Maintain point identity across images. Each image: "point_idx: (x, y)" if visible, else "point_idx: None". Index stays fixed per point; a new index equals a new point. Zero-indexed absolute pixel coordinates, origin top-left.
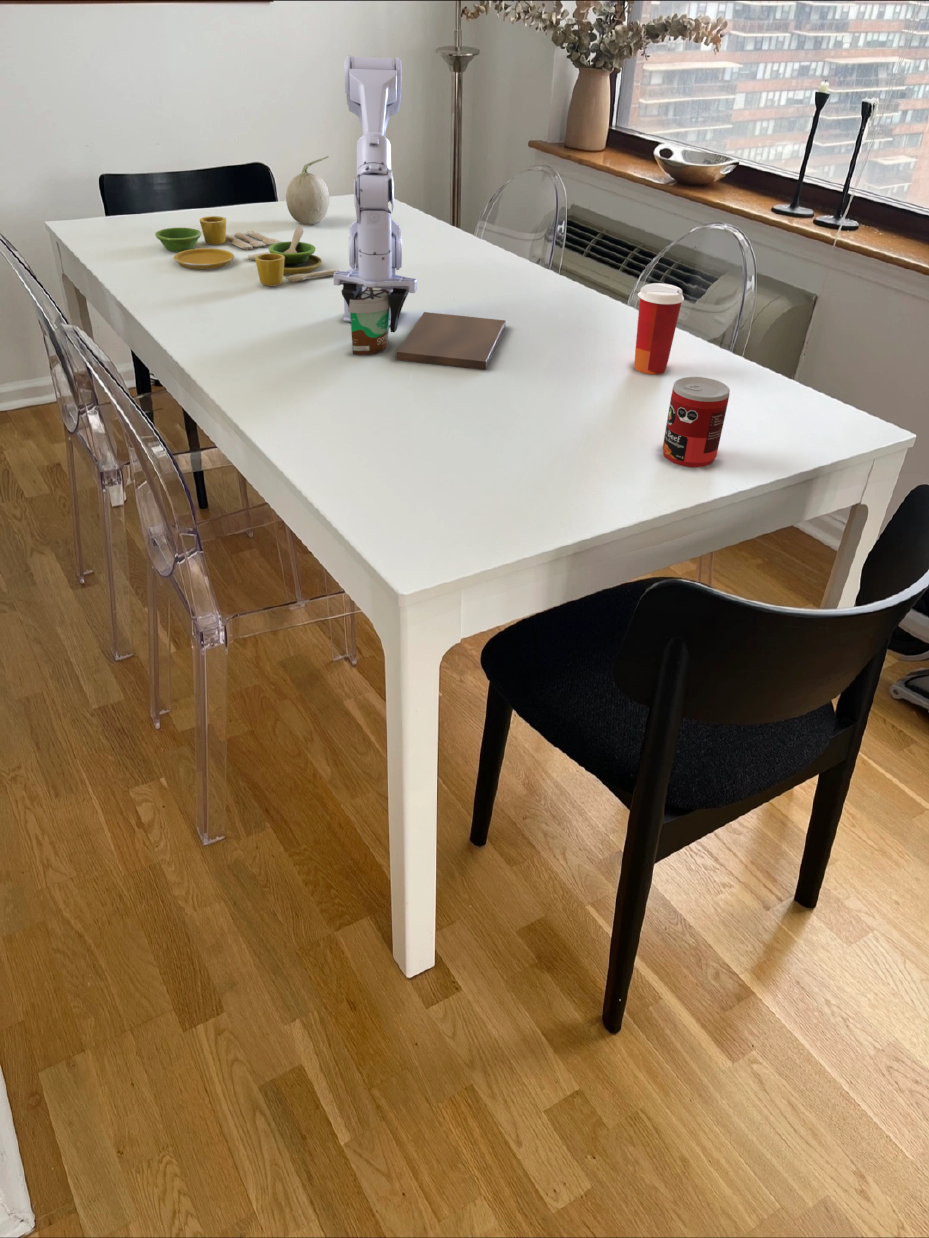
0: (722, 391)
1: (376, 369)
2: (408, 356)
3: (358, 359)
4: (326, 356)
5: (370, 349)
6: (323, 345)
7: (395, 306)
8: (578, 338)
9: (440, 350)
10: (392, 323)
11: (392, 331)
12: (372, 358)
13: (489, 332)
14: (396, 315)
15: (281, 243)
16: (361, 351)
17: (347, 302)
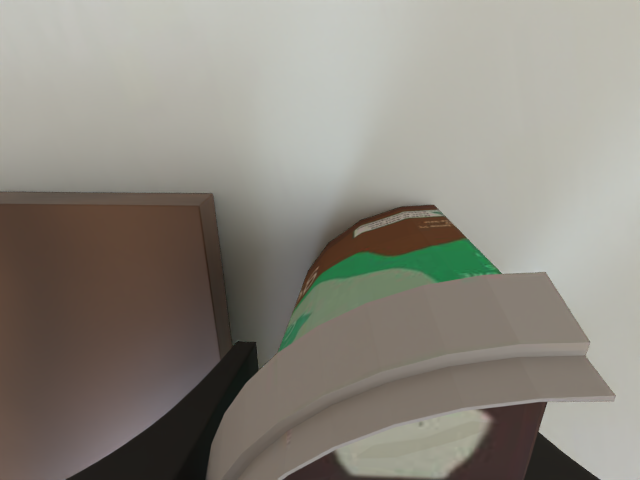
0: None
1: (264, 38)
2: (144, 199)
3: (392, 152)
4: (568, 145)
5: (349, 235)
6: (595, 278)
7: (141, 458)
8: None
9: (19, 277)
10: (226, 370)
11: (244, 344)
12: (328, 185)
13: None
14: (175, 406)
15: None
16: (391, 214)
17: (587, 474)
